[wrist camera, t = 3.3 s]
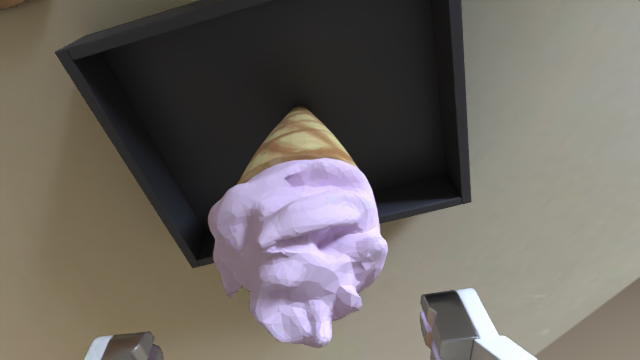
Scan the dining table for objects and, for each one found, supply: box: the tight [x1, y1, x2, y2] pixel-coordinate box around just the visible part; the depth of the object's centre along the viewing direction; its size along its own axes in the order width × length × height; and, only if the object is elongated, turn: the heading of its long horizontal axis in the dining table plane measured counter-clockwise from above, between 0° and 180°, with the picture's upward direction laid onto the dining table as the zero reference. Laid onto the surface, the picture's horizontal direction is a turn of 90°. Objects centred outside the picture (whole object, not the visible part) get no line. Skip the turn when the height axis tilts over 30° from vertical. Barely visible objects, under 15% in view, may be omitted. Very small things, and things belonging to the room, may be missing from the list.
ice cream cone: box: [208, 106, 388, 348], centre depth 18 cm, size 7×6×15 cm
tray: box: [55, 0, 471, 268], centre depth 23 cm, size 19×15×3 cm
